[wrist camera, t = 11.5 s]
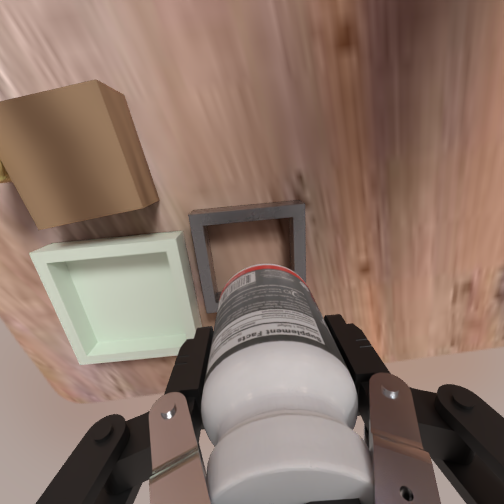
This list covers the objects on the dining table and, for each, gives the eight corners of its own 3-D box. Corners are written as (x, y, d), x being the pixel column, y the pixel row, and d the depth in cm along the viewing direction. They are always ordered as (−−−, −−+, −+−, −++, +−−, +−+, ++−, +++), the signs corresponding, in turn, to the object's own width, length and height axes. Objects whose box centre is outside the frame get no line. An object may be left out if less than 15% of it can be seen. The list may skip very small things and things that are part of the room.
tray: (182, 230, 22) (175, 239, 20) (204, 336, 26) (200, 353, 24) (51, 243, 22) (28, 253, 20) (94, 346, 26) (80, 364, 24)
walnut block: (125, 95, 18) (95, 79, 15) (160, 199, 21) (143, 208, 17) (26, 118, 19) (-28, 107, 15) (74, 217, 21) (38, 230, 18)
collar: (299, 199, 21) (305, 203, 19) (301, 292, 25) (306, 303, 23) (193, 210, 21) (188, 215, 19) (209, 301, 25) (206, 313, 23)
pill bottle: (304, 337, 16) (379, 573, 7) (220, 336, 16) (186, 577, 7) (315, 260, 14) (444, 454, 5) (219, 258, 14) (168, 454, 5)
